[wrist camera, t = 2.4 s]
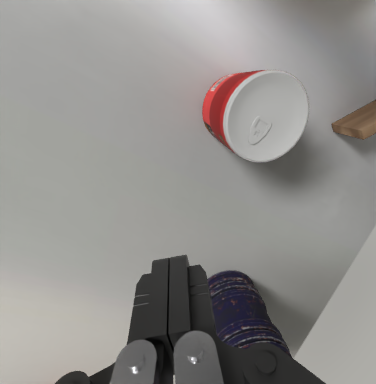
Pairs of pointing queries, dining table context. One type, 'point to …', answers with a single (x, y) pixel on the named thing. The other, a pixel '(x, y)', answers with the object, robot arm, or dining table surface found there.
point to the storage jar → (241, 312)
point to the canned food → (257, 113)
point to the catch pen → (358, 122)
